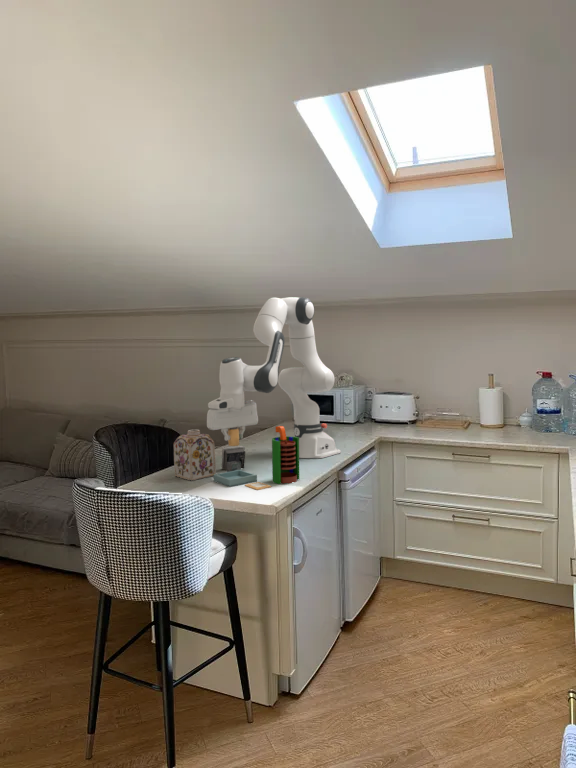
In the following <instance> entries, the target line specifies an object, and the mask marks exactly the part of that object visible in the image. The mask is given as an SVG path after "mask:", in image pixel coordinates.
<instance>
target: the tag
mask: <svg viewBox="0 0 576 768" xmlns="http://www.w3.org/2000/svg"><path fill="white" fill-rule="evenodd" d="M244 486H245V487H247V488H250V489H253V490H256V491H259V490H264V489H269V488H272V486H271V485H270V484H267V483H264V482H260V481H257V482H252V483H247V484H244Z"/></svg>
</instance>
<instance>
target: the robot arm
mask: <svg viewBox="0 0 576 768" xmlns="http://www.w3.org/2000/svg"><path fill="white" fill-rule="evenodd" d="M315 311H316V310H315V305H314V303H313V301H312V300H311V299H310V298H308V297H304V296H302V297H301V296H300V297H294V296H293V297H292V296H289V297H282V298H279V297H270V298H269V299H267V300H266V301H265V302H264V304H263V305H262V307H261V309H260V310H259V312H258V315H257V317H256V319H255V322H254V324H253V334H254V337H255V338H256V339H257V340H258V341H259V342H260V343H262V344H263V345H265V346H267V347H268V350H267V355H266V360H265V362H264V363H263V364H261V365H249V364H246V363H245V362H243V360H242V358H241V357H240V356H239V357H238V356H231V357H226V358H224V359H223V360H221V361H220V364H219V365H220V366H219V384H220V385H219V386H220V392H219V397H218V398H215V399H213V400H211V401H209V402H208V403H207V407H208V410H207V414H206V427H207V428H208V430H211V431H216V430H220V431H221V433H222V434H223V436H224V441H226V442H228V440H230V435H228V429H229V428H233V427H237V428H239V440H242V439H243V438H244V436H243V435H244V433H245V430H246V427H248V426H255V425H257V424H258V423H259V416H258V408H257V407H258V406H257V403H256V401H255V400H253V399H250V400H245V392H257V393H258V392H259V393H265V394H269V393H271V392H273V391H274V390H275V389H276V387H277V386H279V387H280V389H281V390H282V391H284V393H286V395H287V396H288V397H289V399H290V401H291V402H292V406H293V413H294V414H293V415H294V423H293V435H294V437H298V438H299V459H323V458H326V457H327V458H328V457H331V456H334V455H339V454H341V453H342V452H341V449H339V448H337V447H336V442H335V438H333V437H331V436H330V435H329V434H328V433H327V432H325V431H324V429H327V428H328V425H327V423H320V419H321V418H320V416H321V415H320V406H319V404H318V403H317V402H316V401H314V400H312V399H311V398H310V397H309V395H308V393H324V392H330V390H332V389H333V387H334V385H335V380H336V379H335V374H334V372H333V371H332V370H331V369H330V368H328V367H327V366H326V365H325V363H324V362H322V360H321V358H320V357H319V354H318V350H317V345H316V337H315V335H316V334H315V329H314V322H313V318H314V316H315ZM285 325H288V339H289V348H290V354H291V356H292V358H293V359H295V360H297V361H299V363H301V364H302V365H303V367H302V366H301V367H297V366H296V367H295V366H293V367H287V368H284V369H282V370H281V371H280V366H281V362H282V356H283V353H284V348H285V340H286V339H285V335H284V334H283V328H284V327H285ZM323 428H324V429H323Z"/></svg>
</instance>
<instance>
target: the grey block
mask: <svg viewBox="0 0 576 768" xmlns="http://www.w3.org/2000/svg"><path fill="white" fill-rule="evenodd" d="M226 466H227V470H226V472H230V471H235V470H242V469H241V462H237V461H232V462H226Z"/></svg>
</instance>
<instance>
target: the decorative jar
mask: <svg viewBox="0 0 576 768" xmlns="http://www.w3.org/2000/svg"><path fill="white" fill-rule="evenodd" d="M215 449H216V448H215V441H214V440H213V439H212V437H211V436H210V434H207V433H201V430H200V429H189V430H187V433H186V434H181V435H179V436H178V437H177V438H176V439H175V441H174V442H173V464H174V465H173V467H174V477H176V476H177V478H179V477H180V479H183V480H186V479H187V481H190V480H191V482H192V480H193V481H196V480H201V479H206V478H210V477H214V474H217V473H216V472H217V471H216V450H215Z"/></svg>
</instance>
